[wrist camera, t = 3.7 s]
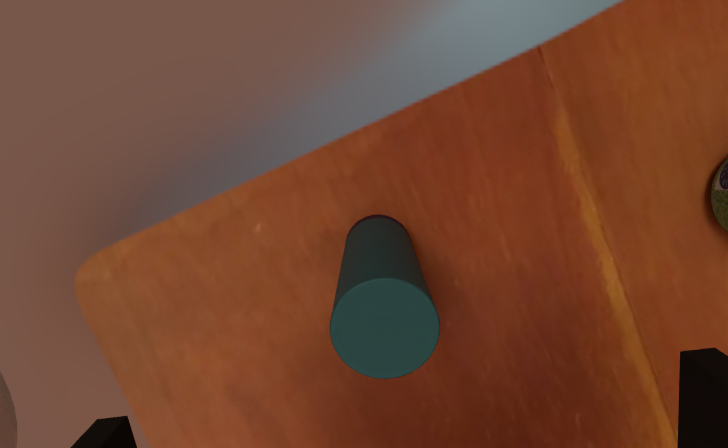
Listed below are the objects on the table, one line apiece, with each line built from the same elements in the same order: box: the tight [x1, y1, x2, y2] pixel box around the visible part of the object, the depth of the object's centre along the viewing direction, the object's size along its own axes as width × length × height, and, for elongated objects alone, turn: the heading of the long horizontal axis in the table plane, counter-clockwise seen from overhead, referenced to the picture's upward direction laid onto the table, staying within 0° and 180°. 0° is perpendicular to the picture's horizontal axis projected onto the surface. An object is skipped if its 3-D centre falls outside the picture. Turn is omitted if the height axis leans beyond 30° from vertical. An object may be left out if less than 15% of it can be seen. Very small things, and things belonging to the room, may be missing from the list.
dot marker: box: [330, 215, 440, 379], centre depth 21 cm, size 4×4×11 cm
